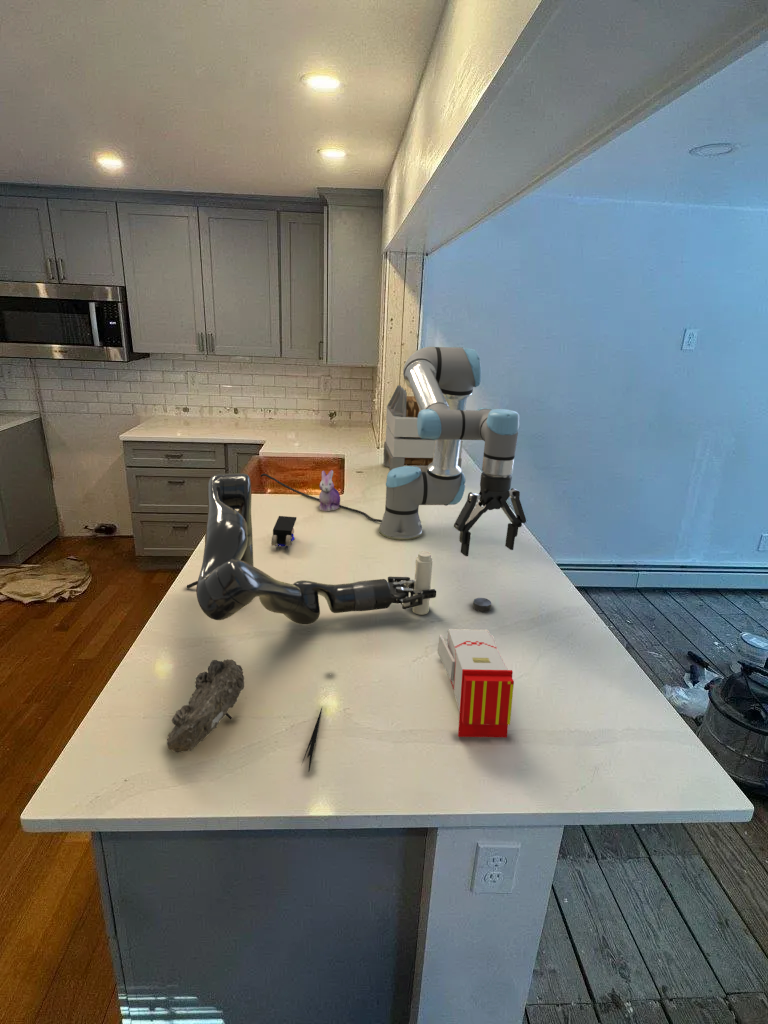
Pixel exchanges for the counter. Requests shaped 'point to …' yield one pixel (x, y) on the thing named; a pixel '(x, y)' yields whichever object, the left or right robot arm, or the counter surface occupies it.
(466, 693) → the toy
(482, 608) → the lid
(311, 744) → the feather
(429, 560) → the white cylinder
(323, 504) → the figurine
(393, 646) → the counter surface
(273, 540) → the figurine character
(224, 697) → the fossil
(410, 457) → the transformer
